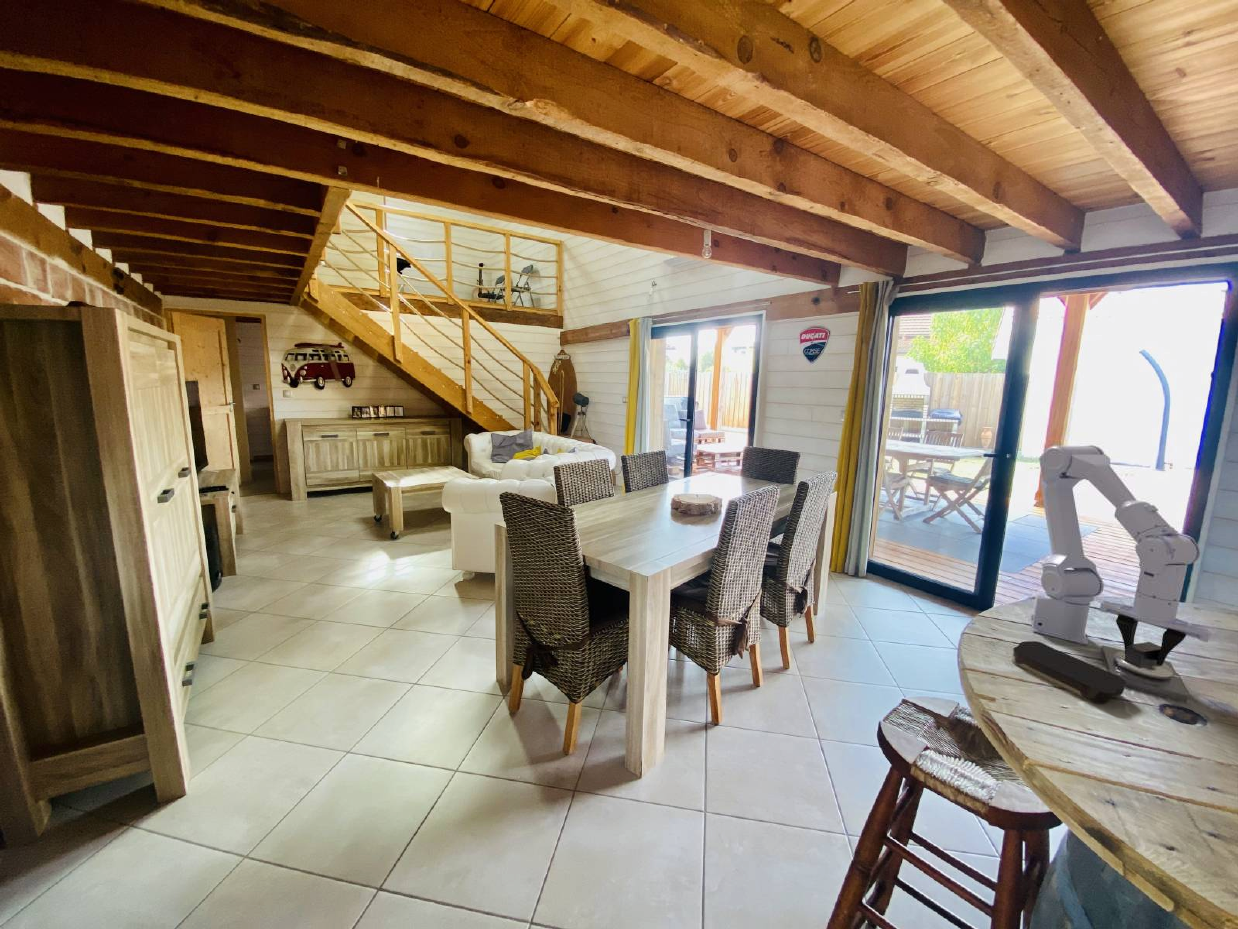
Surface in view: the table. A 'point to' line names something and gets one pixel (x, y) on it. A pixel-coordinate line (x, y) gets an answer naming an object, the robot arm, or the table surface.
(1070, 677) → the dark scrub brush
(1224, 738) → the table surface
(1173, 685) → the dial plate
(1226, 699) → the table surface
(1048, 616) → the robot arm
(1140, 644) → the dial
